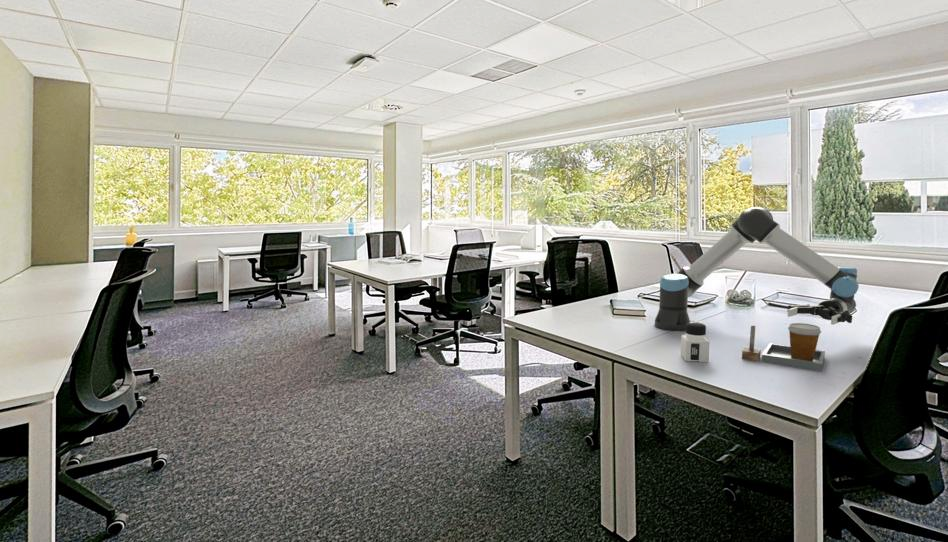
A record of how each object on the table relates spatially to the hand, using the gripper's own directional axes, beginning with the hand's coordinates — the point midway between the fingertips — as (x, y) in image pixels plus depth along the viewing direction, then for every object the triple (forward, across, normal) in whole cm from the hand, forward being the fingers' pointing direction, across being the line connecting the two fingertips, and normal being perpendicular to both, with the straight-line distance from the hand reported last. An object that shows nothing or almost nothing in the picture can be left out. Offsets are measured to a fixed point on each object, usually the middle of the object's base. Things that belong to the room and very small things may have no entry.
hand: (810, 316), depth 170 cm
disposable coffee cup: (+9, -2, -14) cm, 17 cm away
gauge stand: (+20, +10, -15) cm, 27 cm away
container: (+36, +22, -15) cm, 45 cm away
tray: (+10, 0, -14) cm, 17 cm away
